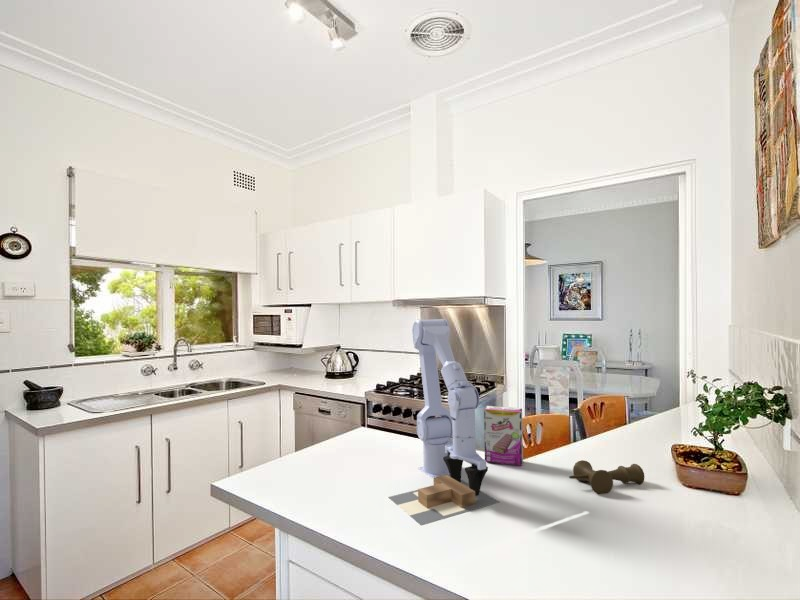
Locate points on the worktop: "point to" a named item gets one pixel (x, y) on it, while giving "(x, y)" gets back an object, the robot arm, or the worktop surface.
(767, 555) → the worktop surface
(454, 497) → the t block
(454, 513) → the mat
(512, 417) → the candy bar box
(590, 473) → the kendama
